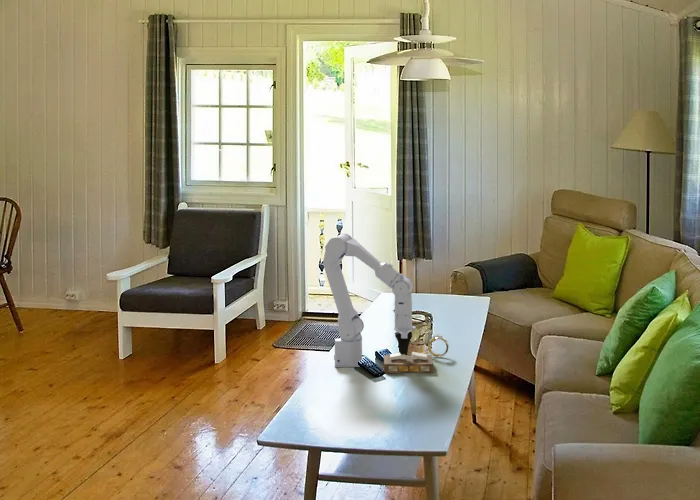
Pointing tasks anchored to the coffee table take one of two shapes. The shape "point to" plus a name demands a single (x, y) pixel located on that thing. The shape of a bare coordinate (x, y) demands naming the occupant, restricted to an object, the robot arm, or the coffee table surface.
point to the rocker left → (396, 356)
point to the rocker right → (419, 355)
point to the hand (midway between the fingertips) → (403, 354)
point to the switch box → (408, 365)
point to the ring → (435, 340)
